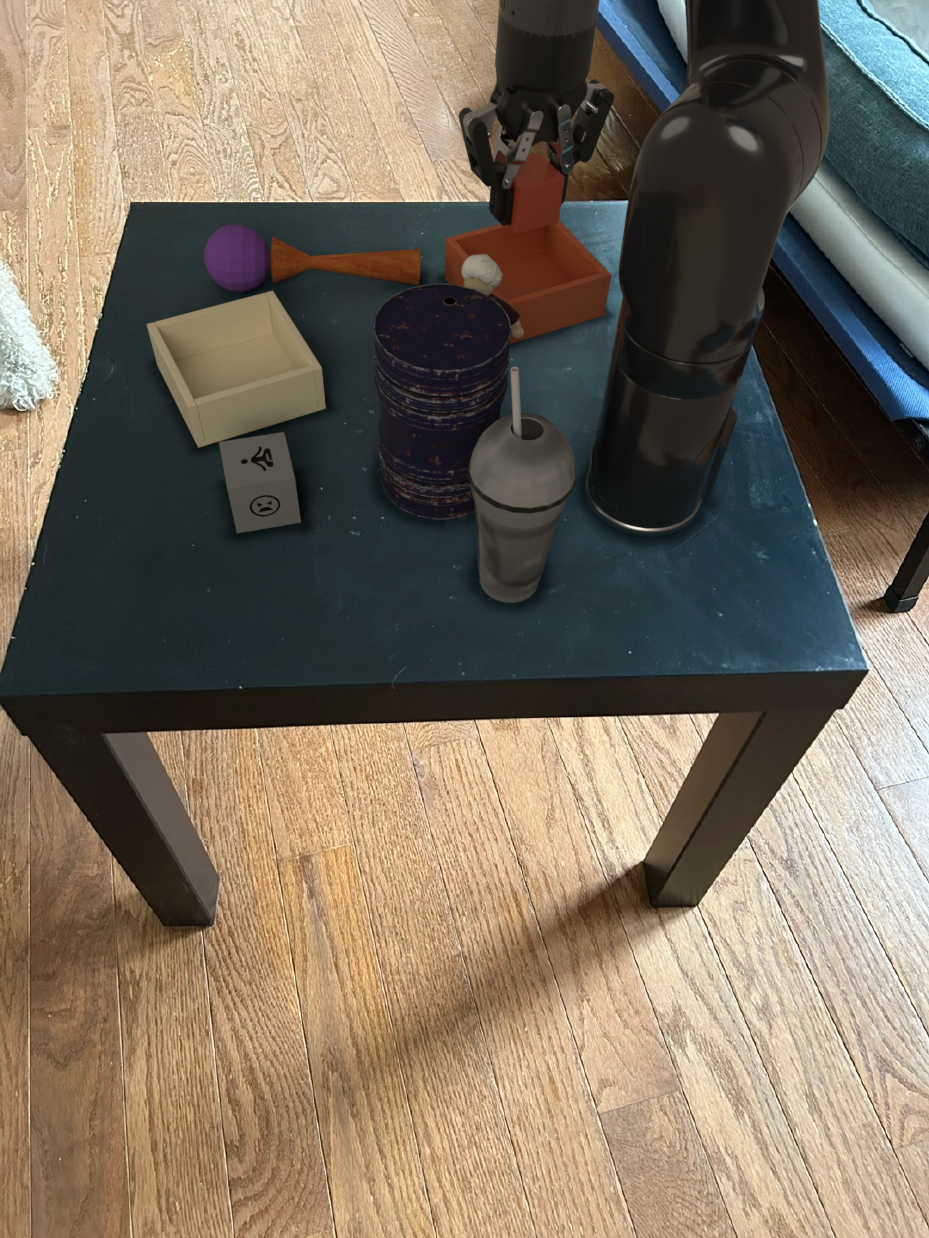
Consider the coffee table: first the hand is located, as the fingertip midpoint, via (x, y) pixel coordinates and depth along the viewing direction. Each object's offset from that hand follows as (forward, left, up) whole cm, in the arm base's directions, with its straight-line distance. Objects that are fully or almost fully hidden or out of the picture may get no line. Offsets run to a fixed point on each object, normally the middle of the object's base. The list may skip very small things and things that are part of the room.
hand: (526, 213), depth 89 cm
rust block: (0, 0, 0) cm, 0 cm away
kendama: (+17, -10, -9) cm, 22 cm away
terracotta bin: (-1, 0, -9) cm, 9 cm away
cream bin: (+28, +1, -9) cm, 30 cm away
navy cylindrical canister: (+17, +18, -9) cm, 27 cm away
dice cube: (+31, +15, -9) cm, 36 cm away
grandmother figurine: (+9, +9, -9) cm, 16 cm away
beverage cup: (+17, +30, -9) cm, 36 cm away
